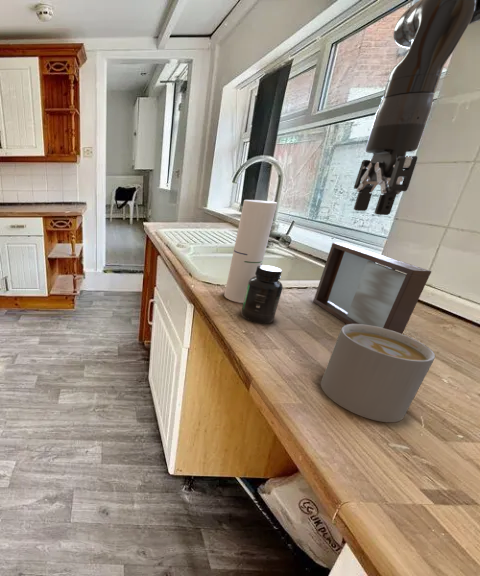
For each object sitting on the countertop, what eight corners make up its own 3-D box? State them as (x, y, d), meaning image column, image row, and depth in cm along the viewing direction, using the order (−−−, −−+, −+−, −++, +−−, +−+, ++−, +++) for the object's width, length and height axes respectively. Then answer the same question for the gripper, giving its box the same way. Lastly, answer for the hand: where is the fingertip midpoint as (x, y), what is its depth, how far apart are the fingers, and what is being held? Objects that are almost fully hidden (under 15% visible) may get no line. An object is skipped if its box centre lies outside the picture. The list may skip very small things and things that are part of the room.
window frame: (312, 301, 81) (332, 242, 76) (325, 302, 81) (345, 243, 75) (379, 346, 61) (413, 270, 55) (396, 347, 61) (431, 271, 55)
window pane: (325, 299, 80) (342, 249, 75) (361, 300, 79) (380, 251, 75) (352, 315, 71) (373, 260, 66) (392, 317, 70) (416, 263, 66)
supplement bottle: (235, 315, 71) (246, 266, 67) (248, 308, 76) (260, 261, 71) (265, 327, 67) (280, 275, 62) (278, 318, 71) (292, 269, 66)
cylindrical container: (230, 290, 87) (250, 199, 77) (257, 298, 82) (281, 202, 73) (219, 296, 82) (239, 200, 73) (247, 305, 77) (271, 203, 68)
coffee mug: (412, 434, 40) (447, 371, 36) (321, 402, 45) (344, 344, 41) (390, 380, 51) (416, 327, 47) (319, 359, 56) (337, 310, 52)
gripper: (452, 117, 50) (414, 217, 56) (399, 129, 63) (373, 210, 69) (396, 118, 52) (366, 215, 58) (356, 130, 65) (334, 208, 71)
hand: (369, 212), depth 63 cm, fingers open, 8 cm apart
